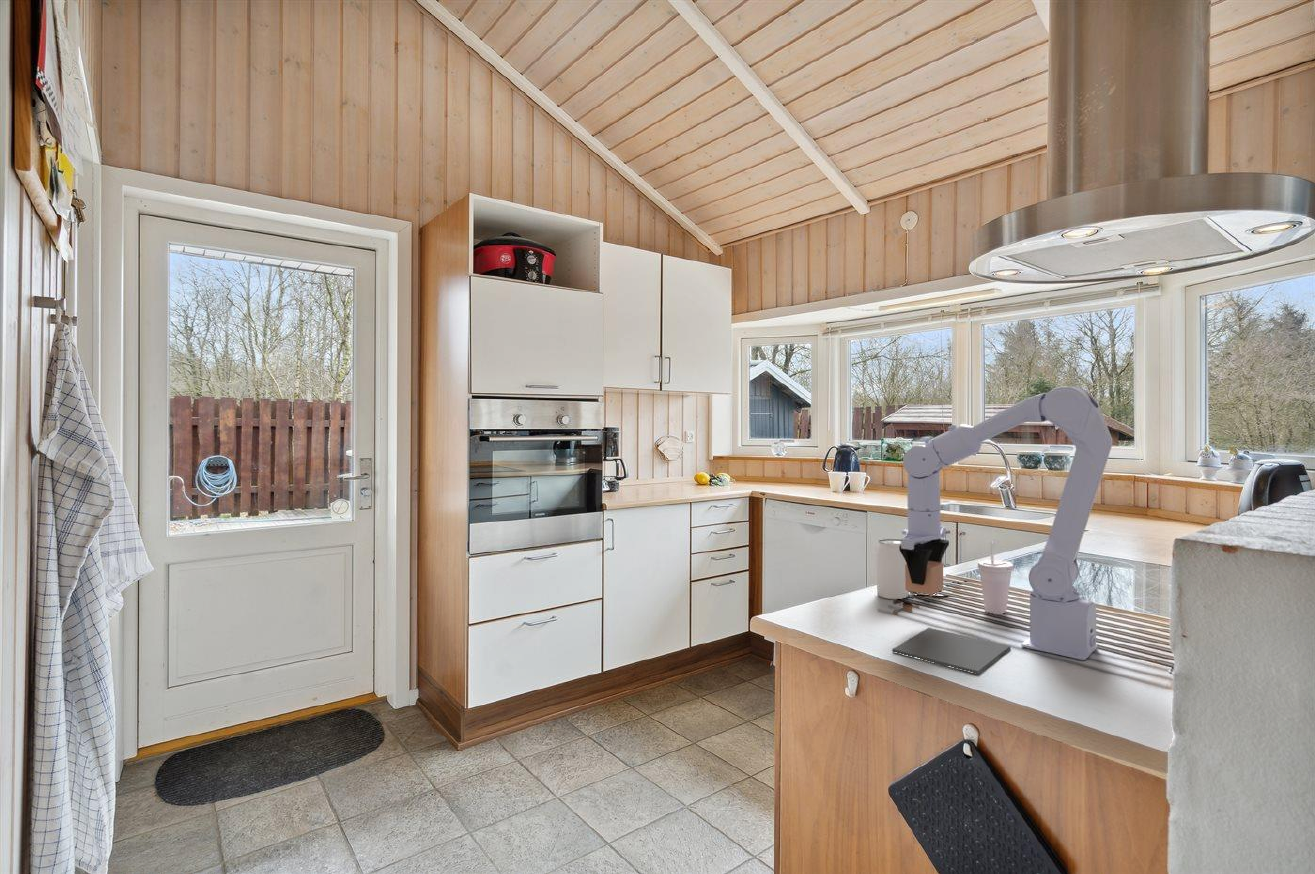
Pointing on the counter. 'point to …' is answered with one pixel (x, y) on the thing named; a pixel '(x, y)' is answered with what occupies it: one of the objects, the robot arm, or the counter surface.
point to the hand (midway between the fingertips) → (924, 580)
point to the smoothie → (995, 583)
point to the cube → (927, 579)
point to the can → (890, 570)
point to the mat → (952, 650)
